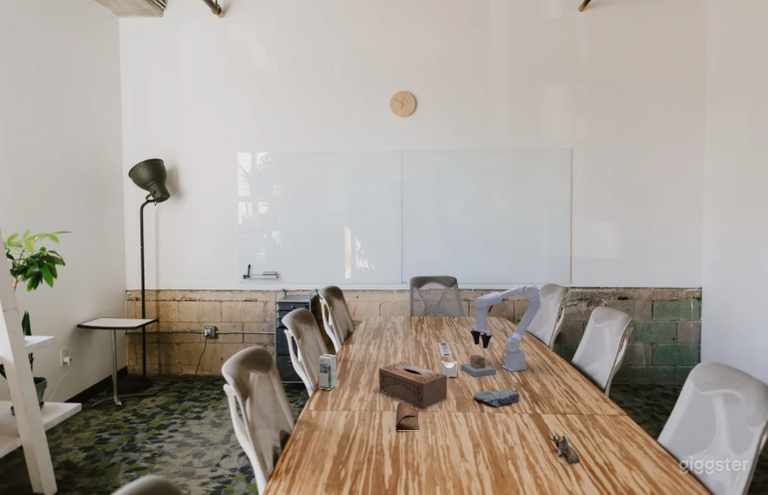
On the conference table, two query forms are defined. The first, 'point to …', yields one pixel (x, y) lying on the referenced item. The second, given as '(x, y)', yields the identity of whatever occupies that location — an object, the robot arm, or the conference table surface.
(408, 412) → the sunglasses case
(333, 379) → the syrup box
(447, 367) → the bracket
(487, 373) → the base slab
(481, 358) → the walnut cube
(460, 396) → the conference table surface
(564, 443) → the grey-brown figure
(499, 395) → the fossil
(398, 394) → the tissue box cover
